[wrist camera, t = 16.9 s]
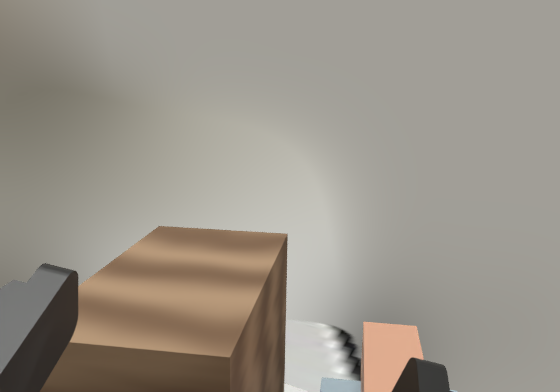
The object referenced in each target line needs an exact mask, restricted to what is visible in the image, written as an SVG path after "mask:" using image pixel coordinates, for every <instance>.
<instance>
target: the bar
mask: <svg viewBox="0 0 560 392" xmlns="http://www.w3.org/2000/svg"><path fill="white" fill-rule="evenodd" d="M412 357H414V358H418V359H422V360H424V359H423V354H422V349H421V344H420V341H419V335H418V331H417V326H409V325H396V324H385V323H372V322H364V325H363V343H362V359H361V392H392V390H393V388H394V386H395V384H396V382H397V381H398V379H399V377H400V375H401V373H402V371H403V370H404V368H405V366H406V364H407V362H408V361H409V359H410V358H412Z"/></svg>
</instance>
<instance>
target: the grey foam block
mask: <svg viewBox="0 0 560 392" xmlns="http://www.w3.org/2000/svg"><path fill="white" fill-rule="evenodd" d="M450 391H453V392H457V391H454V390H450ZM320 392H361V381H353V380H342V379H332V378H322V381H321V389H320Z"/></svg>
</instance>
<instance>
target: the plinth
mask: <svg viewBox="0 0 560 392" xmlns="http://www.w3.org/2000/svg"><path fill="white" fill-rule="evenodd" d="M286 278H287V234H281V233H264V232H247V231H231V230H215V229H198V228H180V227H164V226H159V227H158V228H156V229H155V230H153V231H152V232H151V233H149V234H148V235H147V236H145V237H144V238H143V239H141V240H140V241H139V242H137V243H136V244H135V245H133V246H132V247H131V248H129V249H128V250H127V251H125V252H124V253H122V254H121V255H120V256H118V257H117V258H116V259H114V260H113V261H112V262H111V263H109V264H108V265H106V266H105V267H104V268H103V269H101V270H100V271H98V272H97V273H96V274H94V275H93V276H92V277H90V278H89V279H88V280H86V281H85V282H84V283H82V284H81V285H80V286H78V321H77V325H76V328H75V331H74V334H73V336H72V338H71V340H70V342H69V344H68V345H67V347H66V349H65V350H64V352H63V354H62V355H61V357H60V359H59V360H58V362H57V364H56V365H55V367H54V369H53V370H52V372H51V374H50V375H49V377H48V379H47V380H46V382H45V384H44V385H43V387H42V389H41V390H40V392H284V372H285V326H286V280H287V279H286Z"/></svg>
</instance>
